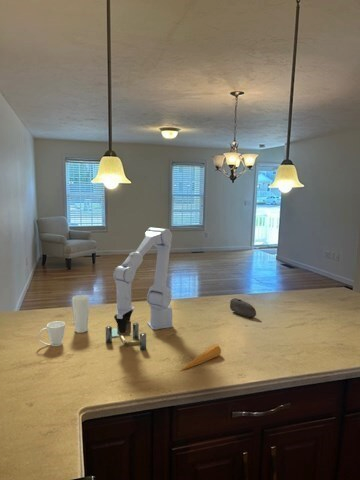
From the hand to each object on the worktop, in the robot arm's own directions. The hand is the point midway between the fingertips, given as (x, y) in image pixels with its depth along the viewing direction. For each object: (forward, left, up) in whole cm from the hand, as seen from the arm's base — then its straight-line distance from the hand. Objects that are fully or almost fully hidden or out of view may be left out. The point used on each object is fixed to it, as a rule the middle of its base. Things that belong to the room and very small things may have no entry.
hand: (124, 329), depth 142 cm
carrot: (-22, +24, -6) cm, 33 cm away
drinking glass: (+15, -17, -6) cm, 23 cm away
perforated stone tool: (-62, -12, -6) cm, 64 cm away
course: (0, +3, -5) cm, 6 cm away
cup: (+27, -7, -6) cm, 28 cm away
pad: (0, -10, -5) cm, 12 cm away
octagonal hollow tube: (0, 0, -1) cm, 1 cm away
